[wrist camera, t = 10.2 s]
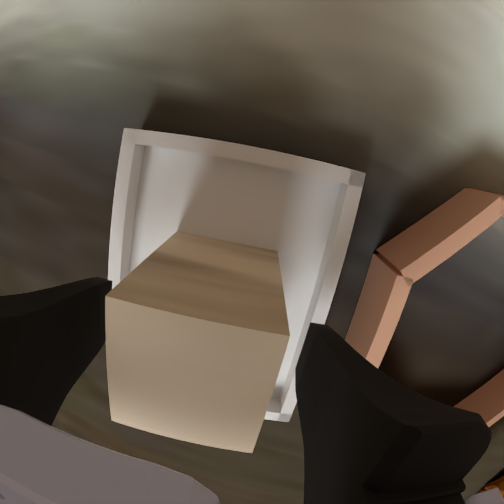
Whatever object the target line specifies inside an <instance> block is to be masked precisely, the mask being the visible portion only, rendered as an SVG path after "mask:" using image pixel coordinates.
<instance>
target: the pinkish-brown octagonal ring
mask: <svg viewBox="0 0 504 504" xmlns="http://www.w3.org/2000/svg"><path fill="white" fill-rule="evenodd" d="M500 217H502V218H504V195H500V194H495V193H491V192H487V191H482V190H477V189H473V188H468V189H467V188H464V189H463V190H461V191H460V192H459V193H457V194H456V195H455V196H453V197H452V198H450V199H449V200H448V201H446V202H445V203H443V204H442V205H441V206H439V207H438V208H436V209H435V210H434V211H432V212H431V213H429V214H428V215H426V216H425V217H424V218H422V219H421V220H419V221H418V222H416V223H415V224H413V225H412V226H410V227H409V228H407V229H406V230H405V231H403V232H402V233H400V234H399V235H397V236H396V237H394V238H393V239H391V240H390V241H388V242H387V243H385V244H384V245H382V246H380V247H379V248H377V249H376V250H377V252H378V254H379V255H378V254H374V253H373V256H372V259H371V262H370V266H369V269H368V272H367V275H366V279H365V282H364V285H363V288H362V291H361V294H360V297H359V300H358V303H357V306H356V309H355V312H354V315H353V318H352V321H351V323H350V326H349V329H348V332H347V335H346V337H345V341H346V342H347V343H348V344H349V345H350V346H351V347H353V348H354V349H355V350H356V351H357V352H358V353H359V354H360V355H362V356H363V357H364V358H365V359H366V360H368V361H369V362H370V363H371V364H373V365H374V366H375V367H376V368H379V365H380V363H381V361H382V359H383V357H384V354H385V352H386V350H387V347H388V345H389V343H390V340H391V338H392V336H393V333H394V331H395V328H396V326H397V323H398V321H399V318H400V316H401V313H402V310H403V308H404V305H405V302H406V300H407V297H408V294H409V291H410V288H411V286H412V283H414V282H415V281H417V280H418V279H420V278H421V277H423V276H424V275H425V274H427V273H428V272H430V271H431V270H432V269H434V268H435V267H437V266H438V265H439V264H441V263H442V262H444V261H445V260H446V259H448V258H449V257H450V256H452V255H453V254H454V253H456V252H457V251H458V250H460V249H461V248H462V247H464V246H465V245H466V244H467V243H469V242H470V241H471V240H473V239H474V238H475V237H476V236H478V235H479V234H480V233H481V232H483V231H484V230H485V229H486V228H488V227H489V226H490V225H491V224H493V223H494V222H495V221H496V220H497V219H499V218H500ZM453 407H456V408H460V409H463V410H467V411H471V412H475V413H478V414H480V415H481V417H482V418H483V420H484V421H485V423H486V424H487V426H488V427H490V426H491V425H493V424H494V423H495V422H497V421H498V420H499V419H500V418H502V417H503V416H504V369H503V370H502V371H500V372H499V373H498V374H497V375H496V376H494V377H493V378H492V379H490V380H489V381H488V382H487V383H485V384H484V385H483V386H481V387H480V388H479V389H477V390H476V391H475V392H473V393H472V394H471V395H469V396H468V397H466V398H465V399H464V400H462V401H461V402H459V403H458V404H456V405H455V406H453Z"/></svg>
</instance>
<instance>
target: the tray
mask: <svg viewBox="0 0 504 504" xmlns="http://www.w3.org/2000/svg"><path fill="white" fill-rule="evenodd" d="M365 175H366V173H363V172H360V171H356V170H352V169H349V168H345V167H341V166H337V165H333V164H329V163H325V162H321V161H317V160H313V159H309V158H305V157H300V156H296V155H291V154H287V153H282V152H277V151H273V150H268V149H263V148H258V147H253V146H247V145H242V144H237V143H231V142H225V141H219V140H213V139H207V138H201V137H194V136H187V135H180V134H173V133H165V132H157V131H148V130H139V129H129V128H124V132H123V137H122V143H121V149H120V155H119V162H118V169H117V176H116V184H115V192H114V201H113V210H112V221H111V233H110V247H109V264H108V280H110V281H112V289H113V288H114V287H115V286H116V285H117V284H119V283H120V282H121V281H122V280H123V279H124V278H125V277H126V276H127V275H128V274H129V273H130V272H132V271H133V270H134V269H135V268H136V267H137V266H138V265H139V264H140V263H141V262H143V261H144V260H145V259H146V258H147V257H148V256H149V255H150V254H152V253H153V252H154V251H155V250H156V249H157V248H158V247H159V246H161V245H162V244H163V243H164V242H165V241H166V240H167V239H169V238H170V237H171V236H172V235H173V234H174V233H175V232H177V231H178V232H184V233H189V234H194V235H199V236H204V237H209V238H214V239H219V240H224V241H229V242H234V243H239V244H244V245H249V246H254V247H259V248H264V249H269V250H274V251H278V258H279V264H280V271H281V277H282V284H283V291H284V297H285V304H286V311H287V318H288V325H289V332H290V338H289V341H288V345H287V348H286V351H285V355H284V358H283V361H282V365H281V368H280V371H279V374H278V377H277V380H276V384H275V387H274V390H273V393H272V396H271V399H270V402H269V405H268V408H267V411H266V414H265V417H264V419H267V420H275V421H283V422H289V420H290V418H291V415H292V413H293V410H294V408H295V405H296V402H297V398H296V391H295V368H296V365H297V362H298V359H299V356H300V353H301V350H302V347H303V344H304V341H305V337H306V334H307V331H308V328H309V325H310V322H311V323H318V324H325V321H326V318H327V315H328V312H329V309H330V306H331V302H332V299H333V296H334V293H335V289H336V286H337V283H338V279H339V276H340V273H341V269H342V266H343V262H344V259H345V255H346V251H347V248H348V244H349V240H350V237H351V233H352V229H353V225H354V221H355V217H356V213H357V209H358V205H359V201H360V197H361V193H362V188H363V184H364V180H365Z"/></svg>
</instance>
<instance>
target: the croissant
mask: <svg viewBox="0 0 504 504" xmlns="http://www.w3.org/2000/svg"><path fill="white" fill-rule="evenodd" d="M493 488H498V489H499V490H500V492H501V494H502V496H503V498H504V475H503V476H501V477H500V478H499V479H497V480H495V481H492V482H490V483H488V484H487V485H486V486H485V487H484V488H483V489H480V491H479V492H478V493H481V492H484V491H487V490H490V489H493Z"/></svg>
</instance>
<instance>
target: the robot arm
mask: <svg viewBox="0 0 504 504" xmlns="http://www.w3.org/2000/svg"><path fill="white" fill-rule="evenodd" d="M111 290H112V281H110V280H107V279H103V278H99V277H96V278H89V279H84V280H80V281H76V282H72V283H68V284H64V285H60V286H56V287H52V288H48V289H43V290H39V291H34V292H29V293H23V294H16V295H7V296H0V504H220V502H219V499H218V496H217V495H215V494H214V493H213V492H212V491H210V490H209V489H207V488H206V487H204V486H203V485H202V484H200V483H199V482H197V481H196V480H195V479H193V478H192V477H190V476H188V475H185V474H182V473H179V472H177V471H174V470H171V469H169V468H166V467H164V466H161V465H159V464H155V463H152V462H148V461H145V460H141V459H138V458H134V457H131V456H128V455H125V454H122V453H119V452H116V451H113V450H110V449H107V448H104V447H101V446H99V445H96V444H93V443H91V442H88V441H85V440H83V439H80V438H78V437H75V436H73V435H71V434H68V433H66V432H64V431H61V430H59V429H57V428H55V427H52V426H51V425H52V423H53V421H54V419H55V417H56V415H57V413H58V411H59V409H60V407H61V405H62V403H63V401H64V399H65V398H66V396H67V394H68V393H69V391H70V390H71V388H72V386H73V385H74V384H75V382H76V381H77V380H78V378H79V377H80V376H81V374H82V373H83V372H84V371H85V369H86V368H87V367H88V365H89V364H90V363H91V361H92V360H93V359H94V357H95V356H96V355H97V353H98V352H99V351H100V349H101V348H102V346H103V344H104V342H105V341H106V331H105V296H106V295H107V294H108V293H109V292H110V291H111ZM295 391H296V398H297V404H298V411H299V417H300V423H301V429H302V435H303V443H304V465H305V481H304V504H504V498H503V496H502V494H501V492H500V490H499V489H498V488H493V489H490V490H487V491H484V492H481V493H478V494H475V495H472V496H470V497H469V498H467V499H465V500H463V498H462V495H461V492H463V491H464V490H465V487H466V486H465V484H464V482H463V480H462V479H463V478H464V477H465V476H466V474H467V473H468V472H469V471H470V470H471V469H472V468H473V467H474V465H475V464H476V463H477V462H478V461H479V459H480V458H481V457H482V456H483V454H484V453H485V451H486V450H487V448H488V445H489V443H490V440H491V431H490V429H489V427H488V426H487V424H486V423H485V421H484V420H483V418H482V417H481V415H480V414H478V413H475V412H471V411H467V410H463V409H460V408H456V407H452V406H449V405H446V404H444V403H441V402H438V401H436V400H433V399H431V398H428V397H426V396H424V395H422V394H420V393H418V392H416V391H414V390H412V389H410V388H408V387H406V386H404V385H402V384H401V383H399V382H397V381H396V380H394V379H393V378H391V377H389V376H388V375H386V374H385V373H383V372H382V371H381V370H379V369H378V368H376V367H375V366H374V365H373V364H371V363H370V362H369V361H368V360H366V359H365V358H364V357H363V356H362V355H360V354H359V353H358V352H357V351H356V350H355V349H354V348H353V347H351V346H350V345H349V344H348V343H347V342H346V341H345V340H344V339H343V338H342V337H341V336H339V335H338V334H337V333H336V332H335V331H334V330H333V329H332V328H330V327H329V326H327V325H324V324H318V323H311V322H310V325H309V328H308V331H307V334H306V337H305V341H304V344H303V347H302V350H301V353H300V356H299V359H298V362H297V365H296V368H295Z"/></svg>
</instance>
